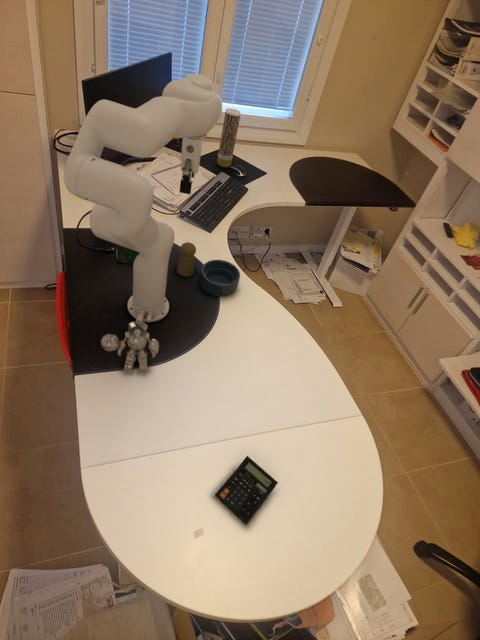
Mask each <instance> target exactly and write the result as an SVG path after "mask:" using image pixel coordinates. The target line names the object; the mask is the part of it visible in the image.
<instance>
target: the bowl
mask: <svg viewBox="0 0 480 640" xmlns="http://www.w3.org/2000/svg"><path fill="white" fill-rule="evenodd" d="M240 279H241V273H240V270H239V268H238V267H236V265H234V264H233V263H231V262H229V261H227V260H224V259H211V260H208V261H207V262H204V264H203V265H202V267H201V270H200V276H199V284H200V287H201V289H202V290H203V291H205V292H206V293H208V294H209V295H212V296H215V297H228V296H231V295H233V294H234V293H236V292H237V289H238V286H239V282H240Z"/></svg>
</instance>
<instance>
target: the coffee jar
mask: <svg viewBox="0 0 480 640" xmlns="http://www.w3.org/2000/svg"><path fill="white" fill-rule="evenodd" d="M139 254H140V252H137V251H134V250H132V249H129V248H126V247H123V246H120V245H118V244H116V253H115V257H116V260H117V261H118V262H120V263H123V264H130V265H133V264H134V260H135V258H136V257H137V256H138V255H139Z"/></svg>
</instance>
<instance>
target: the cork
mask: <svg viewBox="0 0 480 640" xmlns="http://www.w3.org/2000/svg"><path fill="white" fill-rule="evenodd" d="M179 249H180V256H179V260H178V263H177V267H176V273H177V274H178V275H180V276H182V277H191V276H193V275H194V273H195V255H196V252H197V247H196V245H195V244H193V243H192V242H183V243H182V244H181V245H180V247H179Z"/></svg>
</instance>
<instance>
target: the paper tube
mask: <svg viewBox="0 0 480 640" xmlns="http://www.w3.org/2000/svg"><path fill="white" fill-rule="evenodd" d="M241 113H242V112H241V111H240V110H238V109H235V108H233V107H231V108H230V107H228V108H225V112H224V118H223V123H222V130H221V135H220V140H219V141H220V142H219V149H218V154H217V160H216V164H217V165H218V167H220V168H225V169H226V168H227V169H228V168H230V167H231V165H232V160H233V156H234V150H235V147H236V142H237V141H236V140H237V135H238V130H239V126H240V125H239V124H240V120H241Z"/></svg>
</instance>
